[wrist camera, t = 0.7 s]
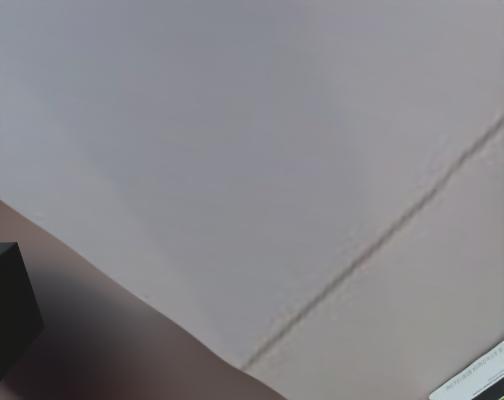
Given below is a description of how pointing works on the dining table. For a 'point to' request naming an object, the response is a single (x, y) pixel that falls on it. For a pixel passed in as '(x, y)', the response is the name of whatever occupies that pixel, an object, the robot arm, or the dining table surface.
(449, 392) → the tea box
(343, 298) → the dining table surface
